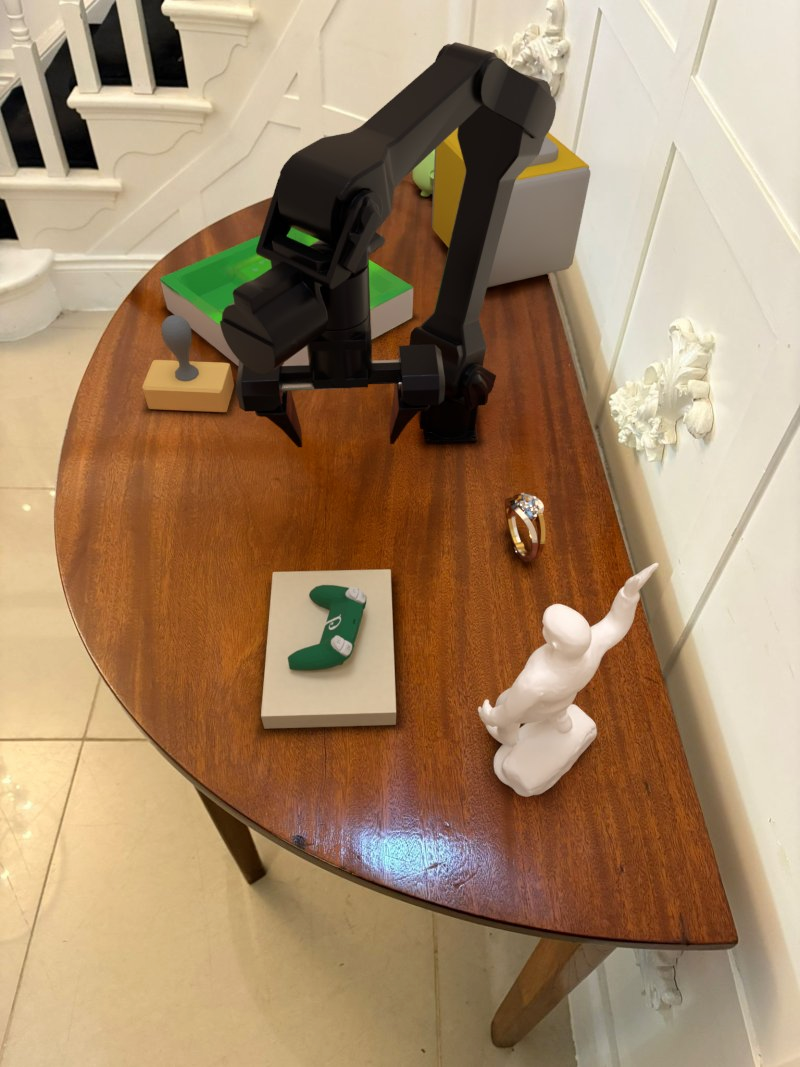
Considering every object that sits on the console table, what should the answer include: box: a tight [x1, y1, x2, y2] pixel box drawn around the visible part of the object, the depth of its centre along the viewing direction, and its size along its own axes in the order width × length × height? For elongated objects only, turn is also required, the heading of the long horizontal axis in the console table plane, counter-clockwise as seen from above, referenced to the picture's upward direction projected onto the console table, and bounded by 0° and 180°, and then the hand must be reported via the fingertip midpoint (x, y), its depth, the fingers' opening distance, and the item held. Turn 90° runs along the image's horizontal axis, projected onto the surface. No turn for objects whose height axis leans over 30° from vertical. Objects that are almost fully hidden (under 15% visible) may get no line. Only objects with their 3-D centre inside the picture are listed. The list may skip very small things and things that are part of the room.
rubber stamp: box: [141, 314, 235, 413], centre depth 95 cm, size 10×6×12 cm, turn 87°
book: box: [260, 568, 397, 730], centre depth 75 cm, size 12×16×2 cm
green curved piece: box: [288, 585, 367, 671], centre depth 73 cm, size 9×4×6 cm
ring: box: [504, 492, 547, 562], centre depth 81 cm, size 7×3×8 cm, turn 14°
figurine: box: [477, 562, 659, 798], centre depth 60 cm, size 12×8×25 cm
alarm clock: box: [431, 128, 591, 288], centre depth 115 cm, size 20×16×18 cm
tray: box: [159, 228, 414, 367], centre depth 110 cm, size 25×25×5 cm
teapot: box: [411, 149, 435, 197], centre depth 132 cm, size 11×12×8 cm
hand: (346, 442), depth 78 cm, fingers open, 9 cm apart
